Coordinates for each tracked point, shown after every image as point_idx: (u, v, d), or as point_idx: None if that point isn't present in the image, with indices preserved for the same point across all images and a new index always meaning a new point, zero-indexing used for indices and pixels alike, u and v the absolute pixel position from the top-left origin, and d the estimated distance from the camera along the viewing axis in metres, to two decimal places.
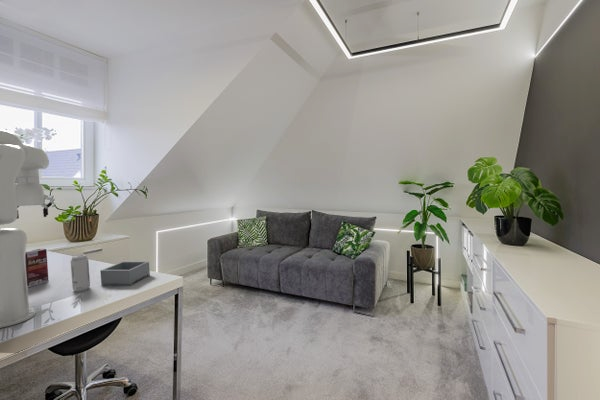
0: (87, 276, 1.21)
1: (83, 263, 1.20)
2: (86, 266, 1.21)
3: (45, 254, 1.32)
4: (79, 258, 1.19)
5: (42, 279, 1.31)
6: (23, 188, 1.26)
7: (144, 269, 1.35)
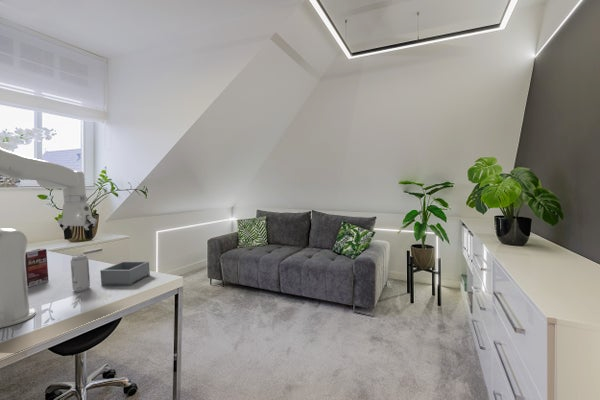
0: (87, 276, 1.21)
1: (83, 263, 1.20)
2: (86, 266, 1.21)
3: (45, 254, 1.32)
4: (79, 258, 1.19)
5: (42, 279, 1.31)
6: None
7: (144, 269, 1.35)
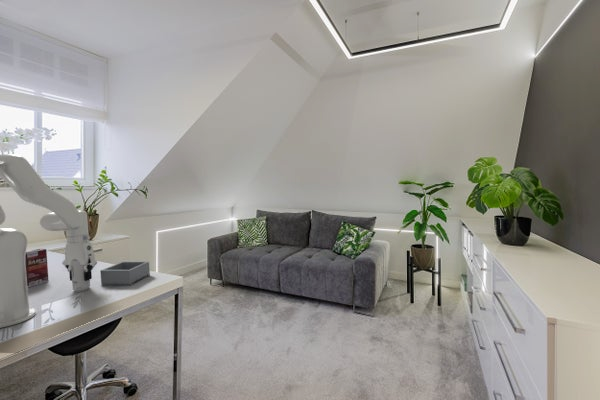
0: None
1: None
2: None
3: (45, 254, 1.32)
4: None
5: (42, 279, 1.31)
6: None
7: (144, 269, 1.35)
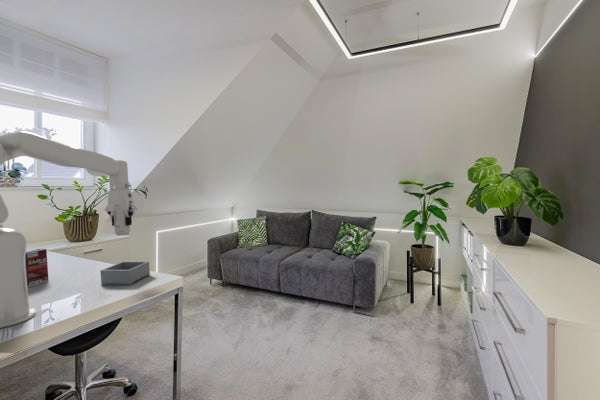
0: None
1: None
2: None
3: (45, 254, 1.32)
4: None
5: (42, 279, 1.31)
6: None
7: (144, 269, 1.35)
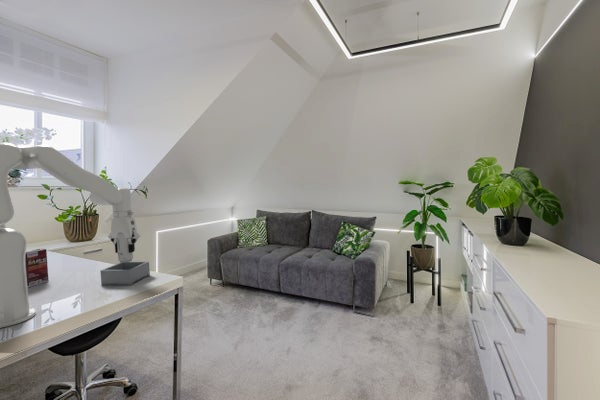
0: None
1: None
2: None
3: (45, 254, 1.32)
4: None
5: (42, 279, 1.31)
6: None
7: (144, 269, 1.35)
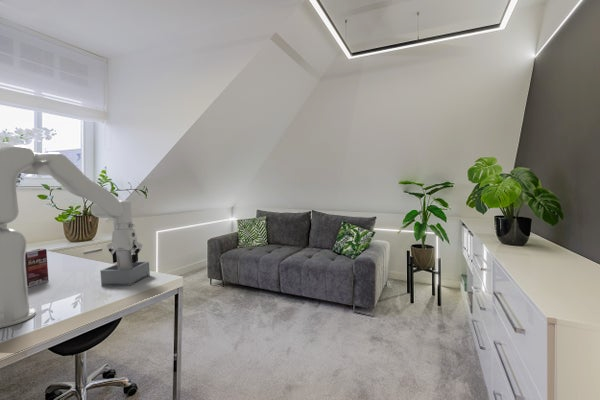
0: (131, 265, 1.32)
1: (128, 253, 1.30)
2: (130, 256, 1.31)
3: (45, 254, 1.32)
4: (124, 249, 1.29)
5: (42, 279, 1.31)
6: None
7: (144, 269, 1.35)
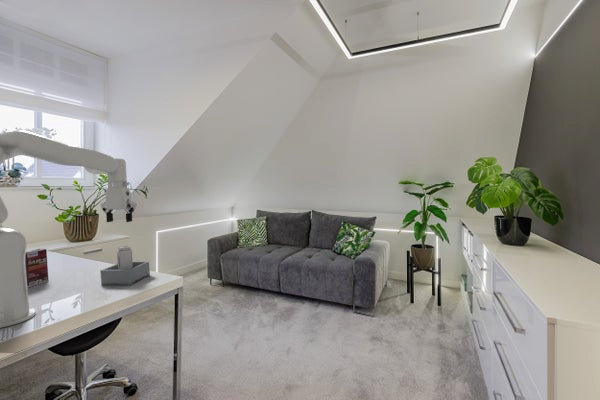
0: (131, 266, 1.32)
1: (128, 253, 1.30)
2: (130, 256, 1.32)
3: (45, 254, 1.32)
4: (125, 249, 1.30)
5: (42, 279, 1.31)
6: None
7: (144, 269, 1.35)
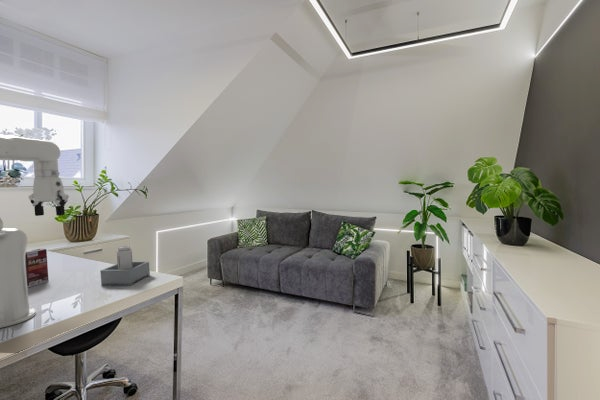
0: (131, 266, 1.32)
1: (128, 253, 1.30)
2: (130, 256, 1.32)
3: (45, 254, 1.32)
4: (125, 249, 1.30)
5: (42, 279, 1.31)
6: None
7: (144, 269, 1.35)
